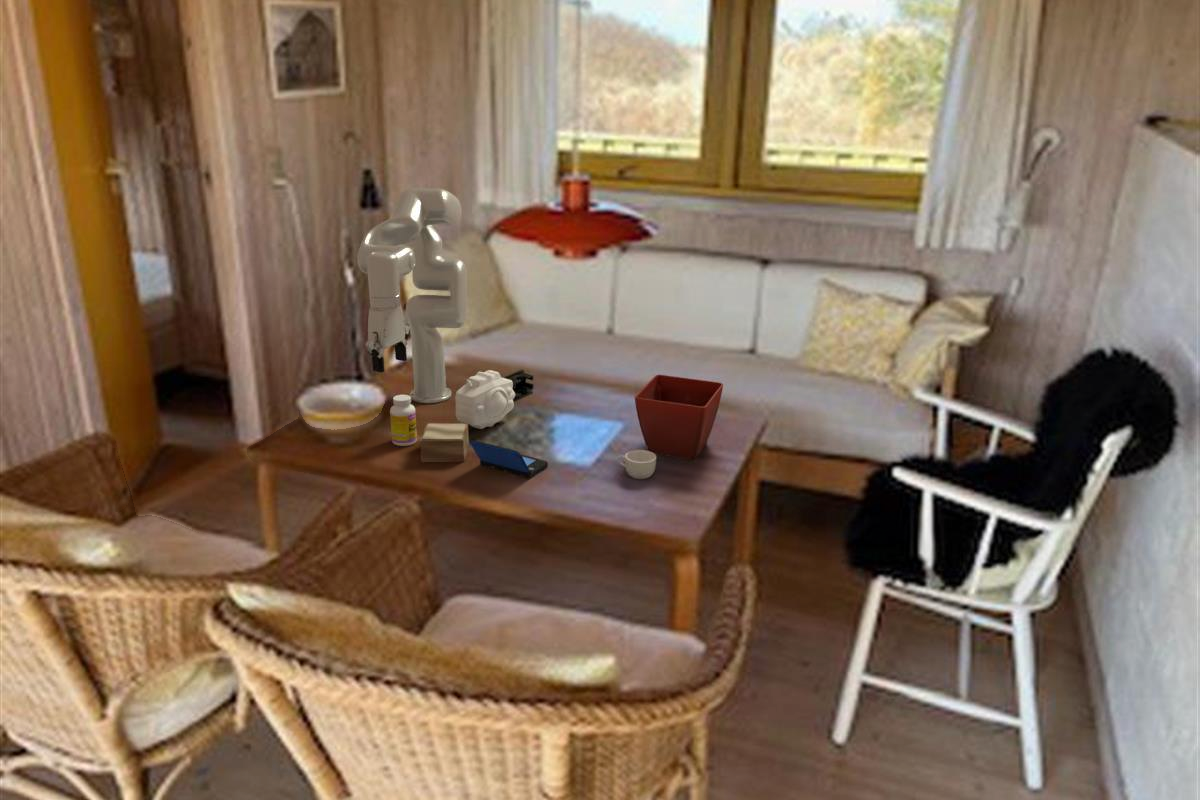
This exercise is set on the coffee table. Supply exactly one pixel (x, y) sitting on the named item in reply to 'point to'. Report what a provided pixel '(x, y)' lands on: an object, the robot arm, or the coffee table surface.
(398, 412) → the supplement bottle
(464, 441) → the pale wooden block
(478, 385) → the camera
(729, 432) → the coffee table surface
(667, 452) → the plant pot
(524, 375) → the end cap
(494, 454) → the handheld game console
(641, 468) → the teacup
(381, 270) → the robot arm
